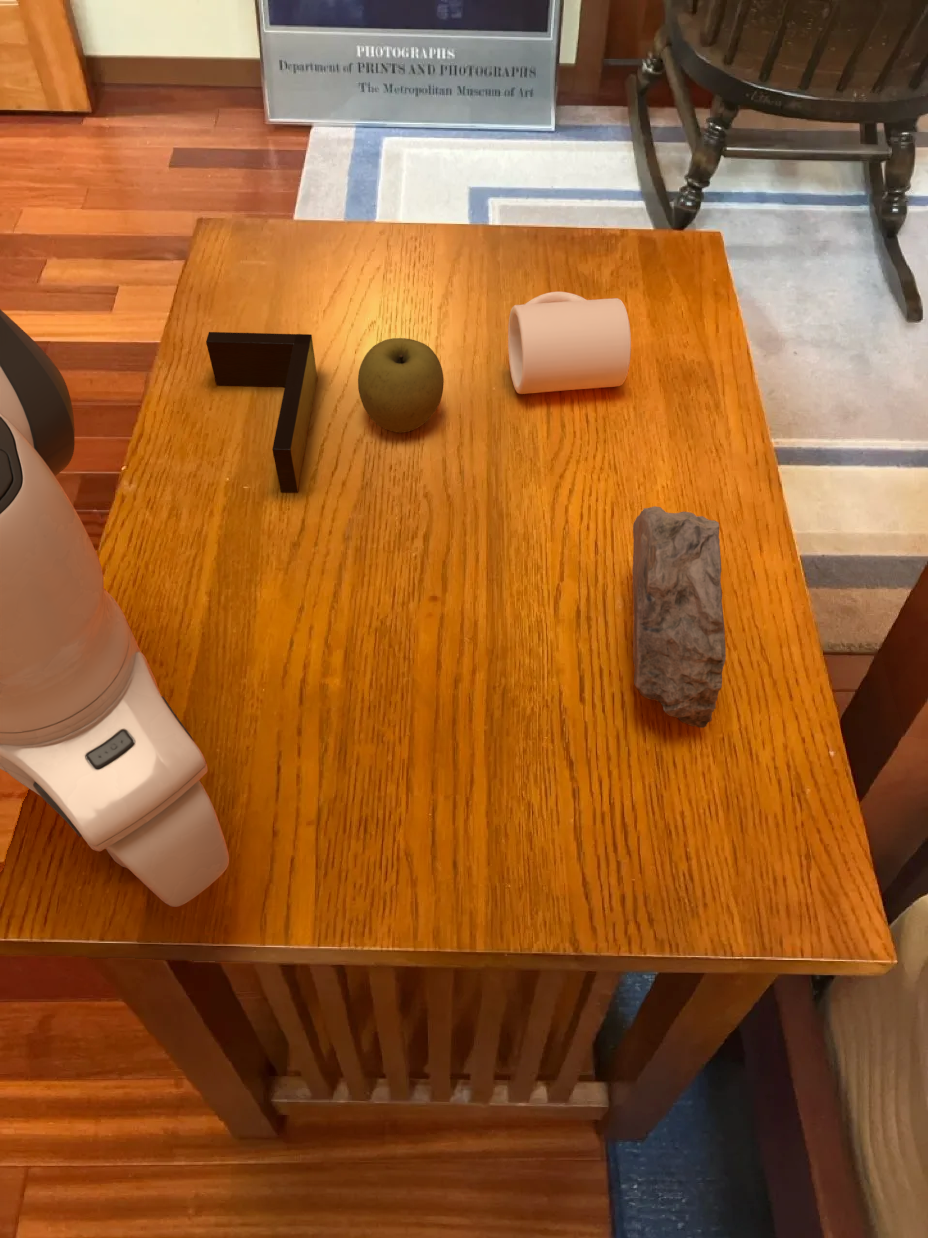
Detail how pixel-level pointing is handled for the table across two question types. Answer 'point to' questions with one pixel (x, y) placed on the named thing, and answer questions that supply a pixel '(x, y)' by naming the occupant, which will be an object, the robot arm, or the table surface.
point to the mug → (568, 343)
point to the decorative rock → (678, 613)
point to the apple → (400, 384)
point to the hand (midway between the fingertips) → (128, 807)
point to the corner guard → (273, 366)
